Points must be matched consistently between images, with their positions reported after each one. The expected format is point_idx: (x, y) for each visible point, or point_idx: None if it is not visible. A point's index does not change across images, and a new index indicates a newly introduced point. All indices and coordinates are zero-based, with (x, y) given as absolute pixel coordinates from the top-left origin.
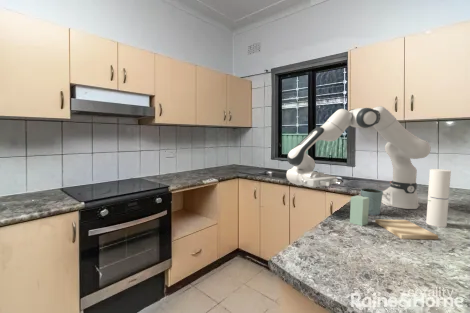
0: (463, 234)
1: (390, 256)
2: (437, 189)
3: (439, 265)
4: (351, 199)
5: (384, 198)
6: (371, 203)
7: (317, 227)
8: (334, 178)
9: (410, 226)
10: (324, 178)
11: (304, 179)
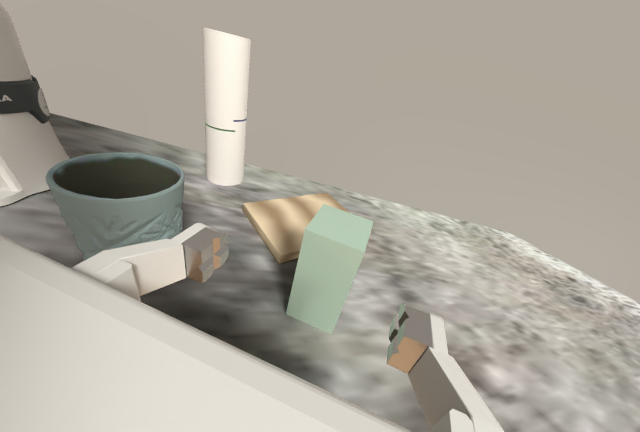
0: (271, 171)
1: (472, 264)
2: (245, 96)
3: (433, 223)
4: (361, 259)
5: None
6: (178, 226)
7: None
8: (54, 264)
9: (297, 208)
10: (295, 398)
11: None
